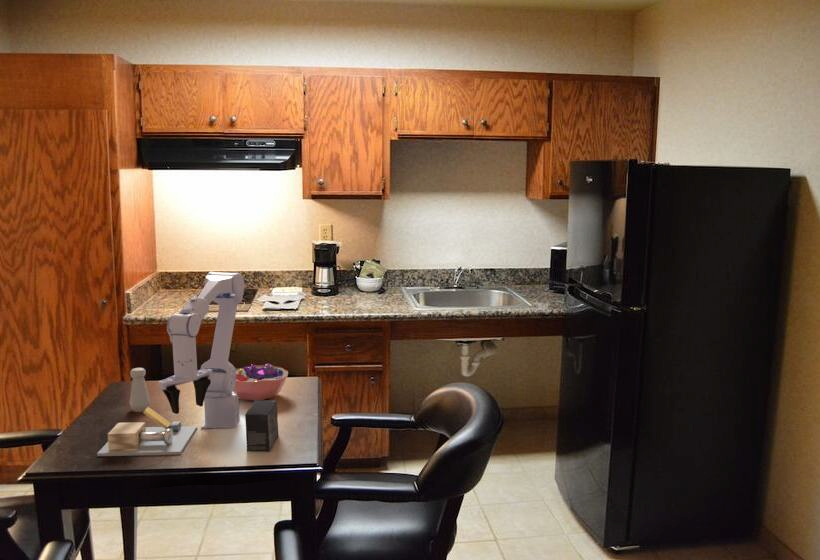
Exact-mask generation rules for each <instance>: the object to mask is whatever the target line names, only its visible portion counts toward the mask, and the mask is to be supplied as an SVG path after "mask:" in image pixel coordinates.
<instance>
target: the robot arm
mask: <svg viewBox="0 0 820 560" xmlns="http://www.w3.org/2000/svg"><path fill="white" fill-rule="evenodd" d="M204 278H205V279H204V287H203V288H202V290H200V293H199V294H198V295H197V296H192V297H191V298H189V300H188V301H187V302H186V304H184V306H183V307H182V308H181V310H180V311H179V312H178V313H173V314H172V315H171V316H169V318H168V320H167V325H166V331H167V334H168V336H169V341H170V343H171V344H172V357H173V359H172V360H173V373H174V375H172V376H169V377H167V378H164V379H161V380H159V381H158V389H159V390H161V391H162V392H163V393H164V395H165V397H166V398H167V400H168V403H169V405H170V408H171V412H172V413H173V414H175V415H177V414H179V413H180V404H179V403H180V394H181V393H180V392H181V390H180V389H179V388H178V387H177V386H180V385H184V384H187V383H191V382H192V383H193V387H194V393H195V396H194V397H195V405H196V406H198V407H203V406H204V408H203V409H204V421H203V423H202V424H201V426H200V427H201V429H217V428H218V429H220V428H221V429H222V428H223V429H225V428H226V429H228V428H231V429H232V428H235V427H236V426H237V424H238V422H239V419H240V417H241V416H240V403H239V402H240V401H239V399H240V398H238V394H237V393H234V392H233V390H234V389H235V386H236V369H237V368H236V367H235V366H234V365H233V364H232V363H231V362H230V361H229V358H230V353H231V351H230V350H231V346H232V345H231V344H232V339H233V334H234V333H233V332H234V326H235V321H236V315H237V309H238V305H239V304H241V303H242V301H243V299H244V298H243V297H244V292H245V291H244V290H245V281H244V277H243V274H242V273H241V272H218V271H216V272H215V271H209V272H208V273H207V274H206V275H205V277H204ZM212 302H214V303H216V304H217V305H218V311H217V319H216V324H215V330H214V335H213V341H212V345H211V346H212V347H211V353H210V358H209V359H208V360H207V361H204V362H203V364H201V365H200V369H198V360H197V358H198V357H197V338H196V337H197V335H198V333H199V331H200V327H201V325H202V321H203V319H204V318H205V317H206V315H208V313H209V311H210V304H211V303H212Z"/></svg>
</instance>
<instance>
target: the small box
mask: <svg viewBox="0 0 820 560" xmlns="http://www.w3.org/2000/svg"><path fill="white" fill-rule="evenodd" d="M244 417H245V436H246V451H247V452H268V453H269V452H271V450H272V448H273V446H274V444H275V443H276V441H277V439H278V437H279V435H280V434H279V424H278V422H279V421H278V417H279V416H278V401H277V400H275V399H274V400H268V399H264V400H261V401H254V402H253V403H252V405H251V406H250V407H249V409H248V410H247V412H245V414H244Z"/></svg>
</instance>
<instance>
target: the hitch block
mask: <svg viewBox="0 0 820 560" xmlns="http://www.w3.org/2000/svg"><path fill="white" fill-rule="evenodd" d="M145 427H146V422H145V421H144V422H143V421H142V422H139V421H137V422H134V421H133V422H117V423H116V424H115V426H114V427H113V428H112V429H111V430H110V431H108V433H107V442H108V446H109V451H137V449H138V448H139V447H140V446H141V445H142V443H143V442H139V436H138V434H139V433H140V432H146V428H145Z"/></svg>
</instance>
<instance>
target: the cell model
mask: <svg viewBox="0 0 820 560" xmlns="http://www.w3.org/2000/svg"><path fill="white" fill-rule="evenodd" d="M235 369H236V386H235V389H234V390H233V392H232V393H237V394H238V398H239V399H240V400H245V401H246V400H247V401H254V402H255V401H265V400H268V399H272V398H274V397H275V396H277V395H278V394H279V393H280V392H281V390H282V388H283V387H284V385H285V384H286V382H287V381H286V380H287V379H288V375H289V371H288V370H286V369H284V368H283V367H281V366H274V365H272V364H271V363H266V364H265V365H263V364H262V365H255V364H251V366H247V365H244V367H240V368H235Z"/></svg>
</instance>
